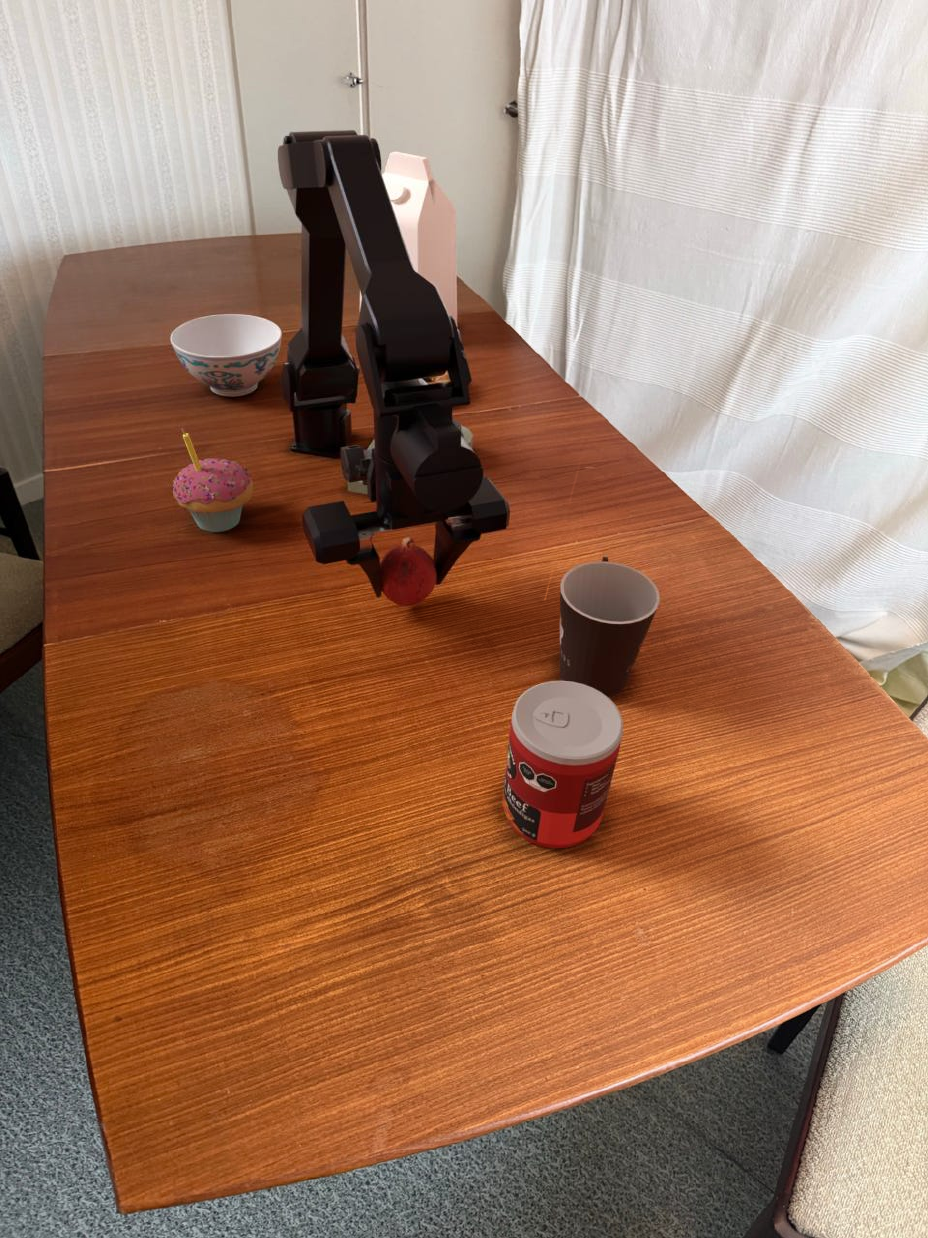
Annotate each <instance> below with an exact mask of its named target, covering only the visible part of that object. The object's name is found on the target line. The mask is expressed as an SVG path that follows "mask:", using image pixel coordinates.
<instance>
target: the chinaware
mask: <svg viewBox="0 0 928 1238" xmlns="http://www.w3.org/2000/svg"><path fill="white" fill-rule="evenodd" d="M282 337H283V335H282V330H281V328H280V327H279V326H278V324H276V323H275V322H273V321H271V320H269V319H267V318H263V317H260V316H256V315H250V314H240V313H239V314H238V313H225V314H222V313H221V314H214V315H213V314H212V315H207V316H202V317H197V318H194V319H190V320H188V321H186V322H184V323H182V324H180V325H179V326H177V327H176V328H175V329H174V330H173V331H172V332H171V334H170V343H171V345H172V348H173V350H174V353H175V355H176V357H177V358H178V361H180V363H181V364H182V366H183V367H184V369H185V370H186V371H187V372H188V373H189V374H190V375H191V376H192V377H193V378H195V379H196V380H197V381H199V382H201V383H202V384H204V385H206V386H208V387H209V388H210V390H211V392H213V393H214V394H216V395H218V396H222V397H241V396H245V395H248V394H251V393H253V392H254V391H255V390H256V389H258V386H259V382H261V381H263V380H264V379H265V378H266V377H267V376H268V375H269V373H271V371H272V370H273V368H274V366H275V364H276V363H277V360H278V358H279V354H280V351H281V345H282Z"/></svg>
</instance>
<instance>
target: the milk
mask: <svg viewBox="0 0 928 1238" xmlns="http://www.w3.org/2000/svg"><path fill="white" fill-rule="evenodd" d="M382 177H383V180H384V183H385V186H386V189H387V192H388V195H389V198H390V201H391V203H392V206H393V209H394V212H395V215H396V218H397V221H398V224H399V227H400V230H401V233H402V236H403V239H404V242H405V245H406V248H407V251H408V254H409V257H410V260H411V262H412V265H413V267H414V269H415V271H416V272H417V273H418V274H420V275H421V276H422V277H424V278H425V279H426V280H428V281H429V282H430V283H432V284H433V285H434V286H436V288H437V289H438V291H439V294H440V296H441V298H442V300H443V302H444V305H445V307H446V309H447V311H448V313H449V315H450V316H452V317H453V319H454V320H455V323H456V326H457V327H458V283H457V281H458V280H457V279H458V278H457V277H458V276H457V274H458V273H457V272H458V271H457V216H456V209H455V207H454V205H453V203H452V201H451V200H450V198H449V197H448V196H447V195H446V193H445V192H444V191H443V190H442V188H441V187H440V186H439V184H438V183H437V182H436V181H435V180H434V175H433V171H432V168H431V164H430V161H429V158H428V157H426V156H421V155H415V154H410V153H406V152H401V151H392V152H390V153H389V155H388V158H387V162H386V164H385V168H384V172H383V173H382ZM361 302H362V295H361V291H360V290H359V309H360V308H361Z"/></svg>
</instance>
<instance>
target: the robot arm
mask: <svg viewBox="0 0 928 1238" xmlns="http://www.w3.org/2000/svg"><path fill="white" fill-rule="evenodd" d="M282 140H283V141H282V144H281V145H279V146H278V148H277V164H278V173H279V178H280V183H281V185H282V188H283V189H284V190H286V193H287V195H288V198H289V201H290V204H291V206H292V208H293V211H294V214H295V216H296V218H297V219H298V220H299V222H300V223H301V326H300V329H298V331H297V332H296V333H295V335H294V336H293V337H292V338H291V340H290V341H288V343H287V351H286V352H287V353H286V354H287V355H286V356H287V357H286V362H284V363H283V365H282V368H281V372H280V378H279V383H280V389H281V395H282V398H283V400H284V402H285V405H286V406H287V408H288V411H289V413H292V422H293V423H292V424H293V432H294V433H293V434H294V441H293V443H291V445H290V451H291V452H295V453H301V454H307V455H314V456H320V457H325V458H332V459H337V458H340V465H341V473H342V476H343V479H344V480H345V481H346V482H347V483H348V482H350V483H351V482H358V481H362V483H363V485H367V493H368V494H367V497H368V499H369V501H370V503H375V504H376V508H375V509H376V510H373V511H367V512H362V513H356V514H351V513H350V511H349V508H348V507H347V505H346V502H345V501H344V500H340V501H333V502H327V503H322V504H317V505H316V504H315V505H310V506H306V509H305V510H304V511H303V513H302V515H301V520H302V530H303V534H304V536H305V537H306V540H307V542H308V545H309V547H310V550H311V553H312V555H313V557H314V559H315V561H316V563H319V564H322V565H327V564H334V563H338V562H343V561H345V562H346V563H347V565H349V566H356V565H359V567H360V568H361V570H362V571H363V572H364V573H365V575H366V576H367V579H368V581H369V583H370V585H371V588H372V590H373V592H374V594H375V597H376V598H381V597H382V594H383V592H382V582H381V570H380V562H381V560H380V559H381V558H380V555H379V553H378V550H377V549H376V547H375V545H374V543H373V537H374V536H377V535H381V534H383V535H384V534H387V533H393V532H399V531H404V530H409V529H415V528H420V527H426V526H431V525H434V527H435V534H434V535H435V536H434V544H433V545H434V547H433V557H432V559H433V561H434V563H435V568H436V575H437V578H436V583H435V585H436V586H438V585H441V584H442V582H443V581H444V579H445V578H446V577H447V575H448V574H449V572H450V571H451V569H452V568H453V566H454V565H455V564H456V562H457V561H458V559H459V558H460V557H461V556H462V555H463V554H464V552H465V551H467V549H468V548H469V547H470V546H471V545H472V543H474V542H478V541H480V540H481V539H482V538H481V537H482V535H483V534H487V533H493V532H499V531H503V530H507V529H508V527H509V526H510V519H511V509H510V505H509V502H508V500H507V498H505V496H504V495H503V494H502V493H501V491H500V489H499V488H498V487H497V486H496V484H495V483H494V482H493V481H492V480H491V479H490V478H489V477H488V476H484V468H483V466H482V462H481V459H480V457H479V456H478V455H477V453H476V452H475V451H474V450H473V447H472V448H471V447H470V446H469V444H468V443H467V442H466V441H465V439H464V438H463V437H462V435H461V431H460V430H459V428H458V427H457V426H456V425H455V424H454V423H453V420H454V419H453V408H457V407H462V406H463V407H465V406H469V405H471V396H470V390H469V386H470V384H471V383H472V381H473V379H472V375H471V371H470V367H469V363H468V358H467V355H466V351H465V347H464V344H463V340H462V336H461V331H460V330H459V329H458V325H457V326H456V323H455V320H454V319H453V317H452V316H450V315H449V313H448V311H447V309H446V307H445V305H444V302H443V300H442V298H441V296H440V294H439V291H438V289H437V288H436V286H434V285H433V284H432V283H430V282H429V281H428V280H426V279H425V278H424V277H422V276H421V275H420V274H418V273H417V272H416V271H415V269H414V267H413V265H412V262H411V260H410V257H409V254H408V251H407V248H406V245H405V242H404V239H403V236H402V233H401V230H400V227H399V224H398V221H397V218H396V215H395V212H394V209H393V206H392V203H391V201H390V198H389V195H388V192H387V189H386V186H385V183H384V180H383V177H382V175H383V173H382V156H381V155H382V154H381V149H380V145H379V143H378V140H377V139H376V138H374V137H369V136H368V135H367V134H358V132H357V131H356V130H354V129H340V130H339V129H337V130H336V129H335V130H310V131H309V130H308V131H307V130H306V131H304V130H303V131H289V134H288V135H284V137H283V139H282ZM347 253H348V256H349V260H350V263H351V265H352V266H351V267H352V269H353V273H354V275H355V278H356V282H357V285H358V288H359V292H360V291H361V295H362V302H361V308H360V307H359V314H358V315H359V316H358V321H357V325H356V327H355V348H356V354H357V358H358V359H357V360H358V363H359V365H357V363H356V360H355V357H354V356H353V355H351V352H350V349H349V346H348V344H347V342H346V339H345V336H344V335H343V321H344V302H345V283H346V263H347ZM360 369H361V372H360ZM446 371H447V372H448V375H449V379H450V382H442V383H435V384H427V383H426V382H425V381H424V380H423V379H421V378H429V377H437V376H442V375H444V374H445V373H446ZM360 373H362V376H363V380H364V383H365V387H366V390H367V394H368V397H369V401H370V404H371V407H372V409H373V440H374V442H375V448H372V449H371V450H367V449H364V448H363V447H362V446H360V445H359V444H355V445H349V444H350V443H351V441H352V440H353V437H354V432H353V429H352V428H353V427H352V411H351V410H349V409H348V404H356V403H357V398H358V388H359V375H360ZM452 419H453V420H452Z"/></svg>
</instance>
